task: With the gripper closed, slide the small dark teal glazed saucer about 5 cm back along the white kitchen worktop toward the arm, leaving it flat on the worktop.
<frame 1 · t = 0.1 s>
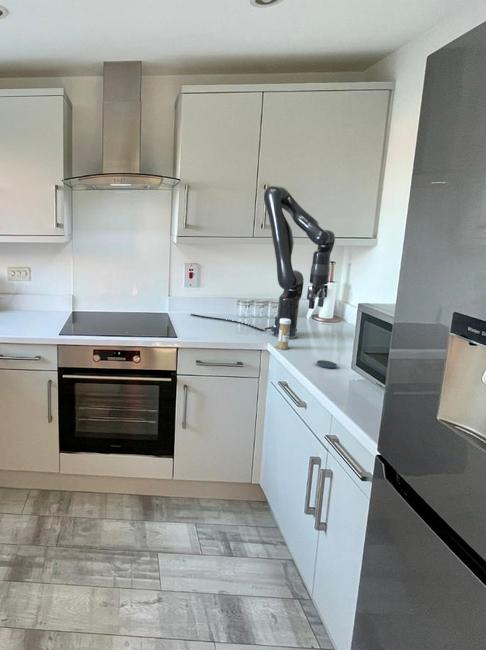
hand: (315, 307, 196), 17 cm above the table, tool pointing down, fingers open, 8 cm apart
sprinkles bottle: (282, 348, 189), on the table
plate: (326, 366, 166), on the table
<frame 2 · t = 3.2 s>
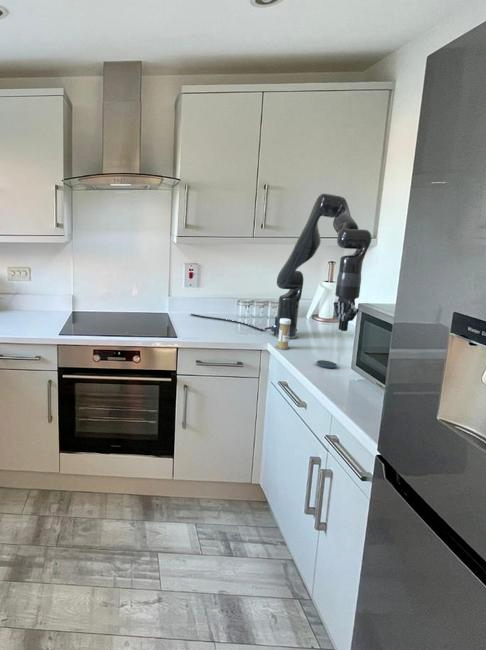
hand: (342, 330, 155), 17 cm above the table, tool pointing down, fingers closed
nothing on the table moved.
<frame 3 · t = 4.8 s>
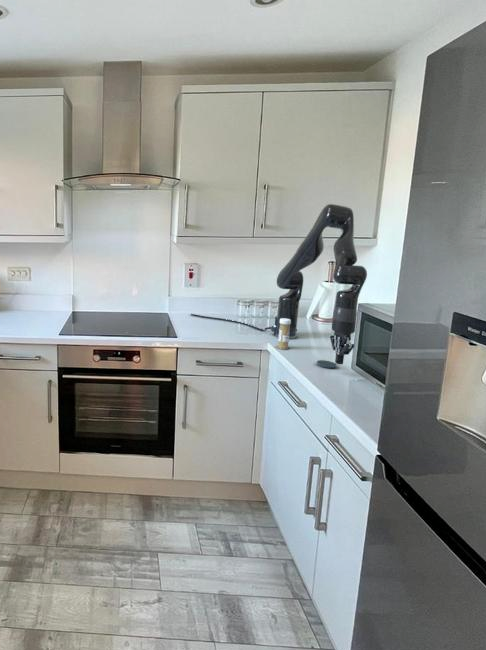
hand: (338, 363, 157), 4 cm above the table, tool pointing down, fingers closed
nothing on the table moved.
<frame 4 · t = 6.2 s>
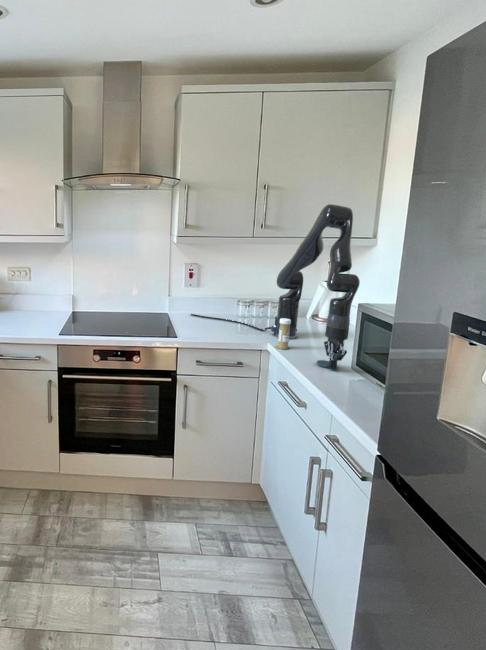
hand: (332, 369, 162), 0 cm above the table, tool pointing down, fingers closed
plate: (326, 365, 167), on the table, touching gripper
everything else where it was.
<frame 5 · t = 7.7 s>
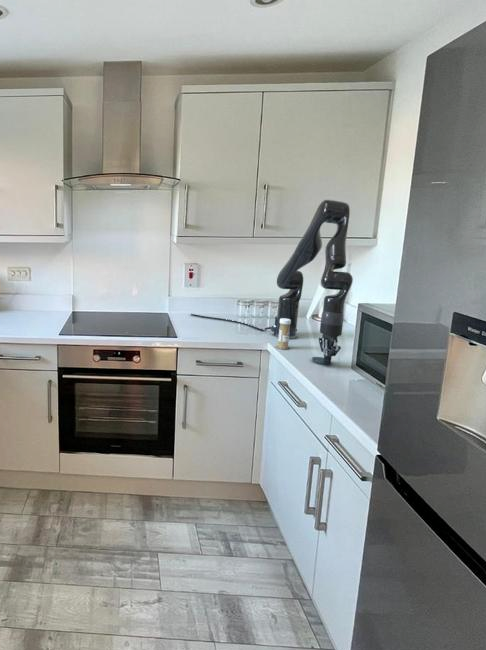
hand: (326, 364, 166), 1 cm above the table, tool pointing down, fingers closed
plate: (321, 362, 171), on the table, touching gripper
everything else where it was.
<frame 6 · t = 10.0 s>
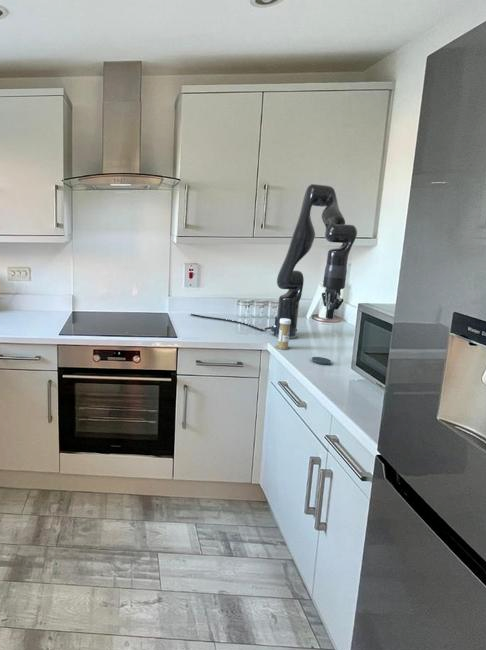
hand: (329, 318, 167), 19 cm above the table, tool pointing down, fingers closed
plate: (321, 362, 171), on the table
everything else where it was.
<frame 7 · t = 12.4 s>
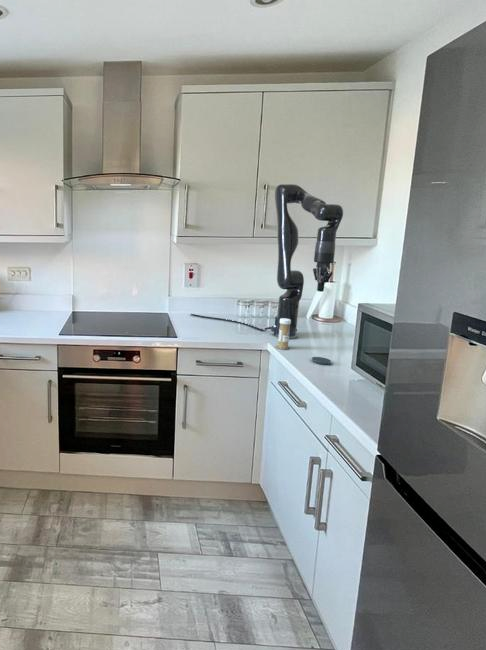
hand: (320, 291, 182), 27 cm above the table, tool pointing down, fingers closed
nothing on the table moved.
at the end: plate 1.3 cm from the target spot, on the table; plate moved 4.4 cm from its start; plate tilted 0° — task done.
